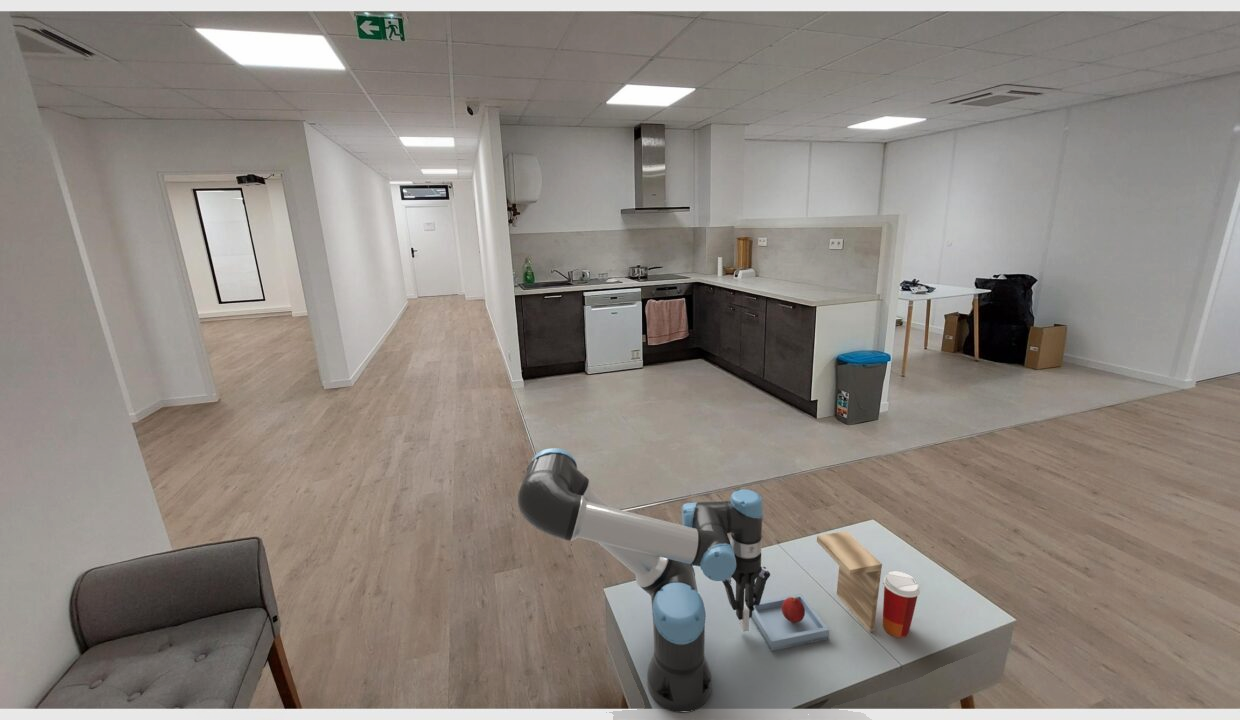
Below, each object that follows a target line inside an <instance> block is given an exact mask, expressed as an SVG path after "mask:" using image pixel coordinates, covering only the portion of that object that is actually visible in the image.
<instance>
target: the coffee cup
mask: <svg viewBox="0 0 1240 720" xmlns="http://www.w3.org/2000/svg"><path fill="white" fill-rule="evenodd" d="M882 583H883V587H884V590H883V604H882V605H883V606H882V627H883V629H884V631H885V632H886V633H887V634H889V635H890V636H893V637H895V638H899V639H903V638H907V637H908V635H909V633H910V629H911V626H912V621H913V617H914V613H915V609H916V604H917V600H918V596H919V595H920V594H921V588H920V585H919V584H918V582H917V581H916V580H915V578H914V577H913V576H911V575H909V574H907V573H905V572H902V571H895V570H893V571H889V572H888V573H887V574H886V575H885V576H884V577H883V579H882Z"/></svg>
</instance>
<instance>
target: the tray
mask: <svg viewBox="0 0 1240 720" xmlns="http://www.w3.org/2000/svg"><path fill="white" fill-rule="evenodd" d="M789 597H795V598H797V599H799V600H800V601H801V602H802V604H803V606H804V608H805V615H804V618H803V619H802V620H801V621H800V622H795V623H792V622H790V621H788V620H787V619H786V618H785V617H784V615H783V613H782V604H783V602H784V601H785V600H786V599H787V598H789ZM753 607H754V611H752V617H751V619H752V622H753V623H754V625H755V626H756V628H757V630H758V632H759V633H760V635H761V637H762V638H763V640H764V642H765V643H766V645H767V647H768V649H769V650H770V652H773V651H778V650H784V649H788V648H791V647H792V648H793V647H797V646H802V645H807V644H812V643H817V642H821V641H825V640H829V635H830V629H829V627H828V626H827V625H826V624H825V622H824V621H823V620H822V618H821V617H820V616H819V615H818V613H817V612H816V610H814V608H813V606H812V605H811V604H810V602H809V601H808V600H807V599H806V597H805V596H804V595H803V594H802V593H798V594H791V595H787V596H783V597H782V596H781V597H777V598H771V599H766V600H761V601H760V604H759V605H758V606H756V605H754V606H753Z"/></svg>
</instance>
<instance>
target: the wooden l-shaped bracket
mask: <svg viewBox="0 0 1240 720" xmlns="http://www.w3.org/2000/svg"><path fill="white" fill-rule="evenodd" d="M816 543H817V544H818V545H820V547H821V548H822V549H823V550H824V551H825V552H826V553H827V554H828V556H829V557H830V558H831V559H832V560H833V561H834V562H835V563H836V564H837V565H838V577H837V587H836V595H837V596H838V597H839V599H840V600H841V601H842V602H843V603H844V604H845V606H846V607H847V608H848V609H849V611H851V612H852V613H851V614H853V615H854V616H855V617H856V619H858V621H859V622H860V623H861V624H862V625H863V627H864V628H865V629H866V630H867V631H868V633H872V632H874V631H875V623H876V616H877V606H878V601H879V599H878V598H879V592H880V582H881V575H882V567H883V563H882V562H880V561H879V560H878V559H877V557H875V556H874V555H873V554H872V553H871V552H870V551H868V550H867V548H865V547H864V546H863V545H862V544H861V543H860V542H859V541H858V540H857V539H856V538H855V537H854V536H853V535H851V534H850V533H849V532H848V531H847V530H845V531H840V532H834V533H828V534H821V535H817V536H816Z"/></svg>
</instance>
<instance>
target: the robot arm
mask: <svg viewBox="0 0 1240 720" xmlns="http://www.w3.org/2000/svg"><path fill="white" fill-rule="evenodd" d="M517 504H518V509H519V512H520V513H521V515H522V517H523V518H524V519H525V521H526V522H527V523H528V524H530V525H531V526H532V527H533V528H535V529H536V530H538V531H540V532H542V533H543V534H546V535H548V536H551V537H554V538H558V539H561V540H565V541H569V542H572V541H574V540H576V539H583V540H587V541H592V542H594V543H595V542H596V543H597V544H598V545H600V546H601V547H602V548H603V549H604V550H606V551H607V552H608V553H609V554H610V555H612V556H613V557H614V558H615V559H616V560H618V562H620V564H622V565H623V566H625V567H626V568H627V569H628V570H629V571H631V572H632V573H633V574H634V575H635V581H636V585H638V586H639V587H640V588H641V589H642V590H643V591H645V592H646V593H647V594H648V595H649V596H650V598H651V611H652V613H651V614H652V623H653V654H652V657H651V660H650V661H649V664H648V667H647V687H648V691H649V693H650V695H651V696H652V698H653V699H654V700H655V702H657V704H658V705H660V706H661V707H663V708H664V709H666V710H669V711H672V712H675V711H690V712H692V711H691V710H693V711H695V710H697V709H700V708H701V707H703V706H704V705H705V703H706V702H707V701H708V700H709V698H710V697H711V693H712V687H713V686H712V685H713V683H712V681H713V680H712V671H711V669H710V666H709V664H708V662H707V659H706V656H705V636H706V635H705V633H706V631H705V629H706V627H705V625H706V619H707V618H706V617H707V616H706V608H705V604H704V600H703V598H702V596H701V594H700V593H699V589H698V586H697V580H696V572H695V569H694V567H693V566H696V567H700V570H702V571H701V572H702V573H703V575H704V576H705V577H706V578H707V579H709V580H711V581H714V582H722V584H723V585H724V588H725V593H726V595H727V599H728V600H727V601H728V602H729V606H731V608H732V609H733V611H735V615H736V617H737V619H738V625H739V627H740V629H741V631H742V632H749V628H750V618H751V617H752V611H754V607H753V606H754V605H756V606H758V605H759V604H760V601H762V597H763V594H764V591H765V587H766V583H767V581H768V579H769V578H770V577H771V573H770V572H769V570H768V568H767V567H766V566H762V544H763V542H762V541H763V539H762V538H763V537H762V536H763V535H762V533H763V519H764V518H763V517H764V509H763V508H764V505H763V499H762V497H761V495H760V494H759V493H757V492H756V491H753V490H750V489H739V490H735V491H734V492H733V493H731V496H730V499H729V500H725V501H696V502H688V503H684V504H682V506H681V524H679V523H675V522H670V521H667V520H663V519H658V518H653V517H650V516H646V515H642V514H638V513H635V512H631V511H625V510H622V509H618V508H614V507H612V506H611V505H609V504H608V503H607V502H606V501H605V500H604V499H602V498H601V497H600V496H599V495H597V493H595V492H594V491H593V490H592V489H591V481H590V479H589V478H588V477H587V476H585V474H583V473H582V472H581V471H580V470H579V469H578V465H577V462H576V460H575V457H574V456H573V455H572V454H571V453H570V452H569V451H567V450H564V449H563V448H558V447H553V448H552V447H551V448H545V449H542V450H541V451H539V452H538V453H536V454H534V457H532V459H531V461H530V463H528V465H527V468H526V471H525V475H524V477H523V480H522V483H521V485H520V486H519V490H518V494H517ZM728 534H730V537H729V536H728ZM732 579H733V580H734V581H735V594H734V591H733V590H734V589H733V586H732ZM751 619H752V618H751Z"/></svg>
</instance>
